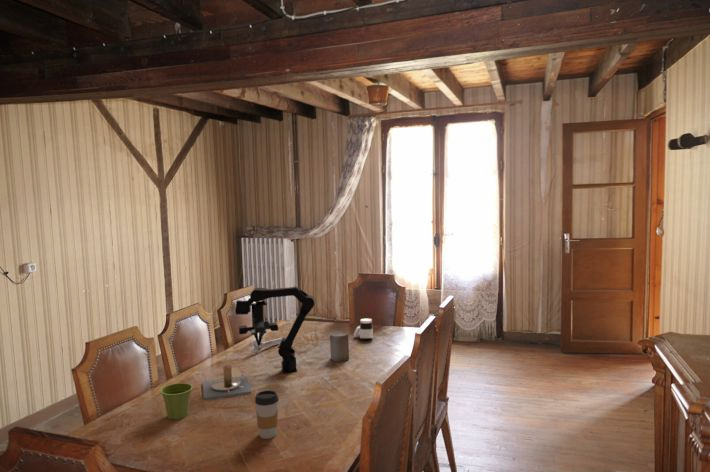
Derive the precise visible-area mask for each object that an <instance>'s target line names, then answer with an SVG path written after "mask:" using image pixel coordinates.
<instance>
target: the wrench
mask: <svg viewBox="0 0 710 472" xmlns="http://www.w3.org/2000/svg"><path fill="white" fill-rule="evenodd" d="M282 338H283V337H279V338H275V339H270V340H267V341H263V342H262V341H261V343H260V346H258V344H257V342H256V339H253V340H251V341H250V342H249V344H248V347H249V348H253V349H251V351H250V354H255V355H259V354H260V352H261V351H262V350H263V349H264V348H265V349H266V348H268V347H272V346H276V345H279V344H280V343H281V341H282ZM253 346H254V347H253Z"/></svg>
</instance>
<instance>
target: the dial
mask: <svg viewBox="0 0 710 472" xmlns="http://www.w3.org/2000/svg"><path fill="white" fill-rule="evenodd" d="M222 369H223V378H218V380H216V379H214V380H215V381H214V382H212V384H211V388H212V389H213V390H215V391H228V390H233V389H236V388H238V387H239V386H241V380H240V379H238V378H232V377H233V376H232V375H233V373H232V365H230V364H228V365H224V366H223V367H222Z"/></svg>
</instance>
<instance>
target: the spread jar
mask: <svg viewBox="0 0 710 472" xmlns="http://www.w3.org/2000/svg"><path fill="white" fill-rule="evenodd" d="M359 322H360V324H359V325H358V326H357V327H356V328H355V330H354V333H353V337H355V338H358V337H359V338H360V341H361V340H362V341H364V342H365V341H372V340H373V338H374V336H373V335H374V331H373V330H374V329H373V328H374V326H373V319H372V318H368V317H367V318H360V321H359Z"/></svg>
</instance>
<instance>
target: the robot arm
mask: <svg viewBox="0 0 710 472" xmlns="http://www.w3.org/2000/svg"><path fill="white" fill-rule="evenodd" d="M291 296H293V297H294V298H296V300H297V301H298V302H300V303H301V306H300V308H299V309H300V310H299V312H298V314H297V316H296V318H295V320H294V322H293V324H292V327H291V328H290V330H289V332H288V333H287V335H286V337H281V338H282V341H281V343H280V344H278V347H277V348H278V350H277V353H278V354H279V356H281V359H282V360H281V361H280V365H281V367H280V368H281V371H282V372H283V373H284V374H289V373H294V372H298V369H297V357H296V356H295V355H296V350H295V349H294V348H293V343H294V340H295V338H296V337H297V334H298V332H299V331H300V329H301V327H302V325H303V323H304V320H305V318H306V317H307V316H308V314H310V312H311V310H312V309H313V308H314V307H315V302H316V299H315V297H314V296H313V295H310V294H308V293H306V292H305V291H303V290H302V289H300V287H298V286H293V287H292V286H291V287H290V286H289V287H278V288H265V287H256V288H254V289H252V291H251V292H250V297H249V298H248V299H247V300H236V302H235V310H234V311H235V315H238V316H240V315H241V316H242V315H244V316H245V315H247V316H248V315H249V313H251V326H249V327H248V325H245V324H244V325H239V326H238V327H237V330H238V334H239V335H246V334H247V333H248V332H250V335H252V336H254V340H256V342H257V344H258V346H260V343H262V339H263V337H264V336H265V334H267V330H271V332H276V331H279V325H278V323H276V322H270V321H268V320H267V321H265V319H264V318H265V312H264V311H265V310H264V309H265V308H264V306H267V305H268V302H267V301H266V300H268V299H270V298H280V297H291Z"/></svg>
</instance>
